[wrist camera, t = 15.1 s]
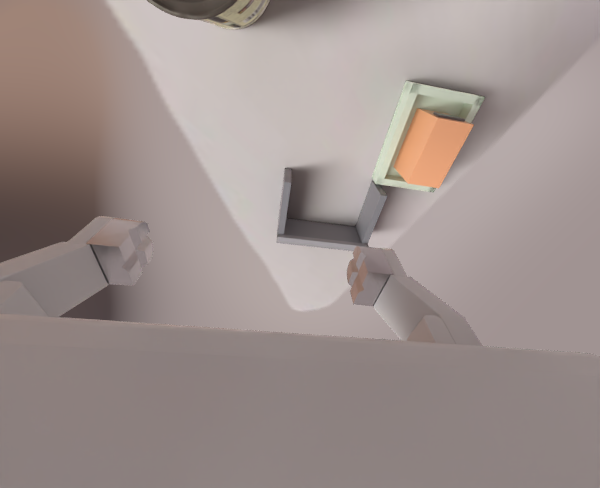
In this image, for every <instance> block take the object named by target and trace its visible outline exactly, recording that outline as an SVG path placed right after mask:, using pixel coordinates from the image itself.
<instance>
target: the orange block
mask: <svg viewBox="0 0 600 488" xmlns="http://www.w3.org/2000/svg"><path fill="white" fill-rule="evenodd" d="M473 126H474V125H473V124H471V123H469V122H466V121H465V119H463V118H461V117H458V116H453V115H450V114H446V113H441V112H436V111H430V110H425V109H420V108H417V109H416V112H415V114H414V117H413V119H412V122H411V124H410V127H409V129H408V131H407V134H406V136H405V139H404V141H403V144H402V146H401V149H400V151H399V154H398V156H397V159H396V161H395V164H394V166H393V167H394V168H395V169H396V170H397V172H398V173H399V174H400V175H401V176H402V177H403V179H404V180H405V181H406V182H407V183H408V184H414V185H421V186H427V187H434V188H439V187H440V185H441V184H442V182H443V180H444V178H445V176H446V175H447V173H448V171H449V169H450V167H451V165H452V164H453V162H454V160H455V158H456V156H457V155H458V153H459V151H460V149H461V147H462V146H463V144H464V142H465V140H466V138H467V137H468V135H469V133H470V131H471V129H472V127H473Z"/></svg>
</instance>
